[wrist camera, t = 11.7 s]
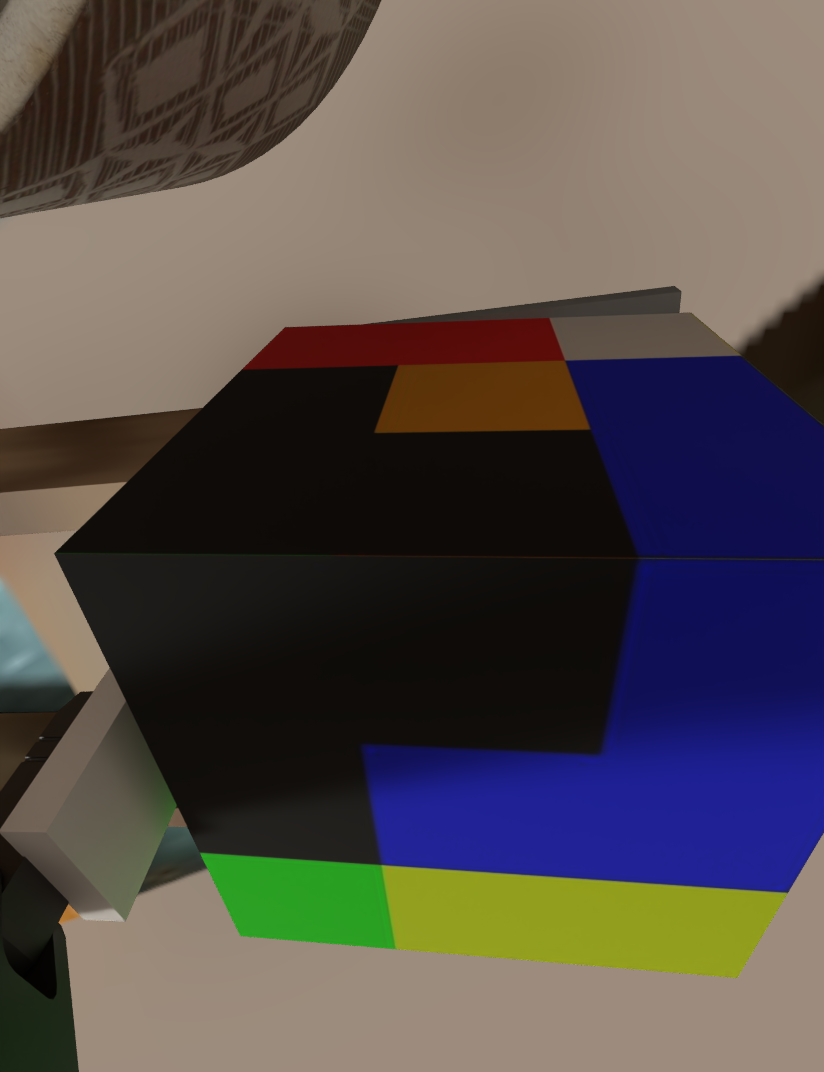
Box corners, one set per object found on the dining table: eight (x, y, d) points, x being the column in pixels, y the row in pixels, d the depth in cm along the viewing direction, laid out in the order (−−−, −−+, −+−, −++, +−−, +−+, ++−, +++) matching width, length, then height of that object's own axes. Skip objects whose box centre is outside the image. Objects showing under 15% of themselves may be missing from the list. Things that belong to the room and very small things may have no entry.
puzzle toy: (691, 312, 14) (985, 561, 6) (629, 624, 20) (737, 977, 11) (285, 327, 15) (54, 552, 7) (335, 618, 21) (240, 935, 13)
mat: (283, 334, 16) (276, 340, 15) (674, 286, 14) (681, 291, 14) (354, 614, 21) (351, 625, 21) (644, 601, 20) (648, 613, 19)
